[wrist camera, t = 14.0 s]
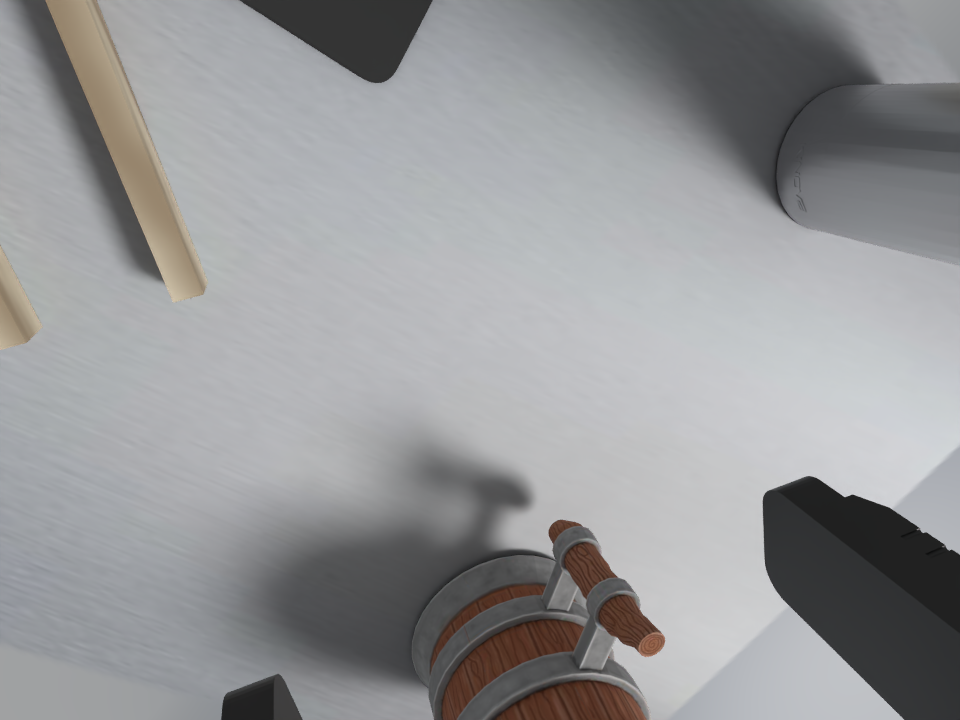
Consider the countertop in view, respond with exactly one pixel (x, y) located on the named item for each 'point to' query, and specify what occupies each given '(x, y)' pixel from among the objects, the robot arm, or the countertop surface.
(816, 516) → the robot arm
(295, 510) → the countertop surface
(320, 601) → the countertop surface
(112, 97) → the birch channel
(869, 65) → the countertop surface
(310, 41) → the phone
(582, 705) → the mug
